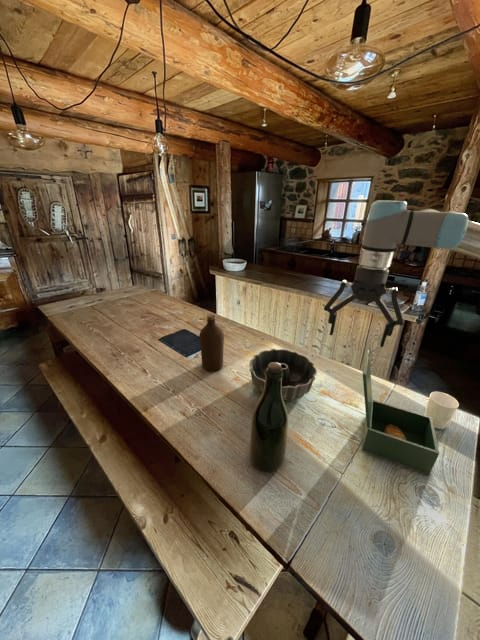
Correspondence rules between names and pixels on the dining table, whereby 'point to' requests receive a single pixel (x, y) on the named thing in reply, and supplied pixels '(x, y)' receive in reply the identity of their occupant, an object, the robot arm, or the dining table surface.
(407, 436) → the bin
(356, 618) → the dining table surface
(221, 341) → the olive oil
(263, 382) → the bundt pan
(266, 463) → the beer bottle
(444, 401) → the white cup
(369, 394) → the bin lid
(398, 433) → the pastry
